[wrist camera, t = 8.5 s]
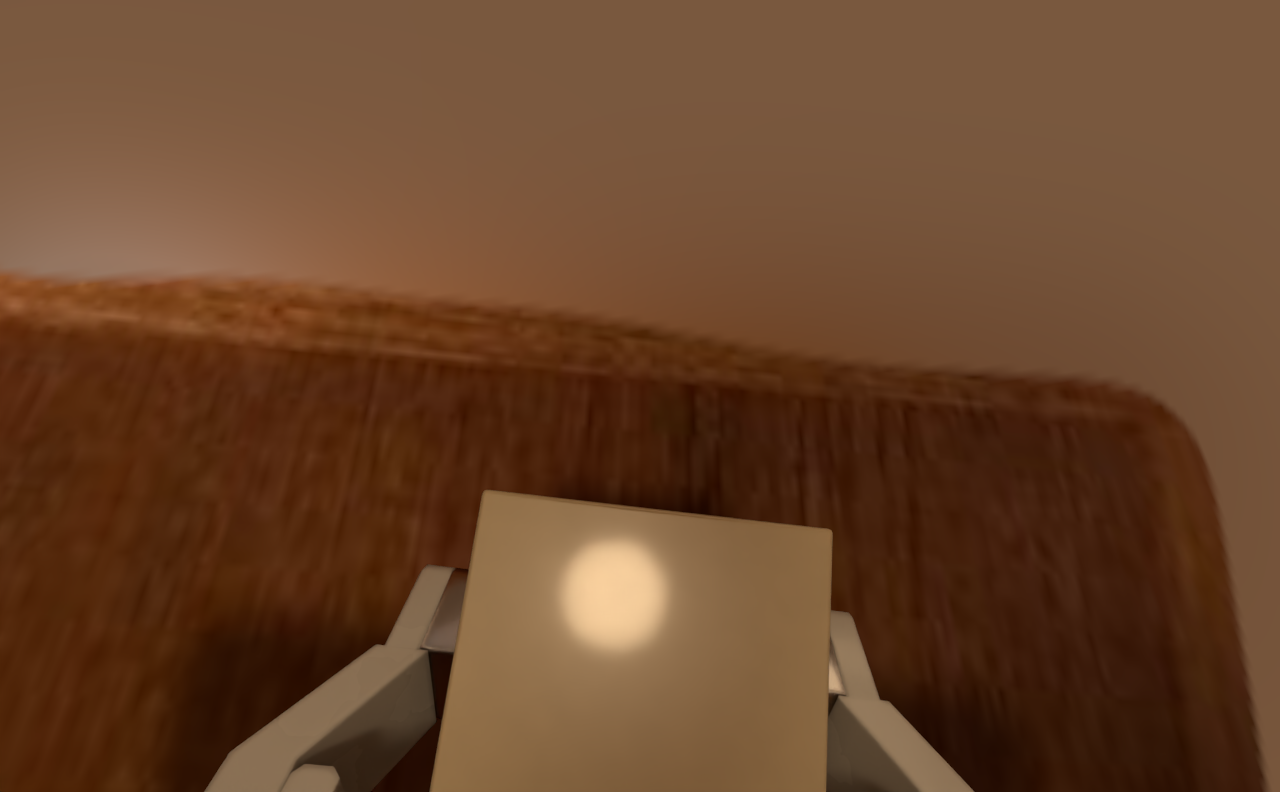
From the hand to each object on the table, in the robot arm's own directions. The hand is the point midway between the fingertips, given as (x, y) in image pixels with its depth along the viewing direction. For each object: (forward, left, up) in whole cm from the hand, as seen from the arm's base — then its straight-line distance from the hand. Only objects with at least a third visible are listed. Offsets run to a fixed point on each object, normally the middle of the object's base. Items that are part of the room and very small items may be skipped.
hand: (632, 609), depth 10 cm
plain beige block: (0, +1, -4) cm, 4 cm away
